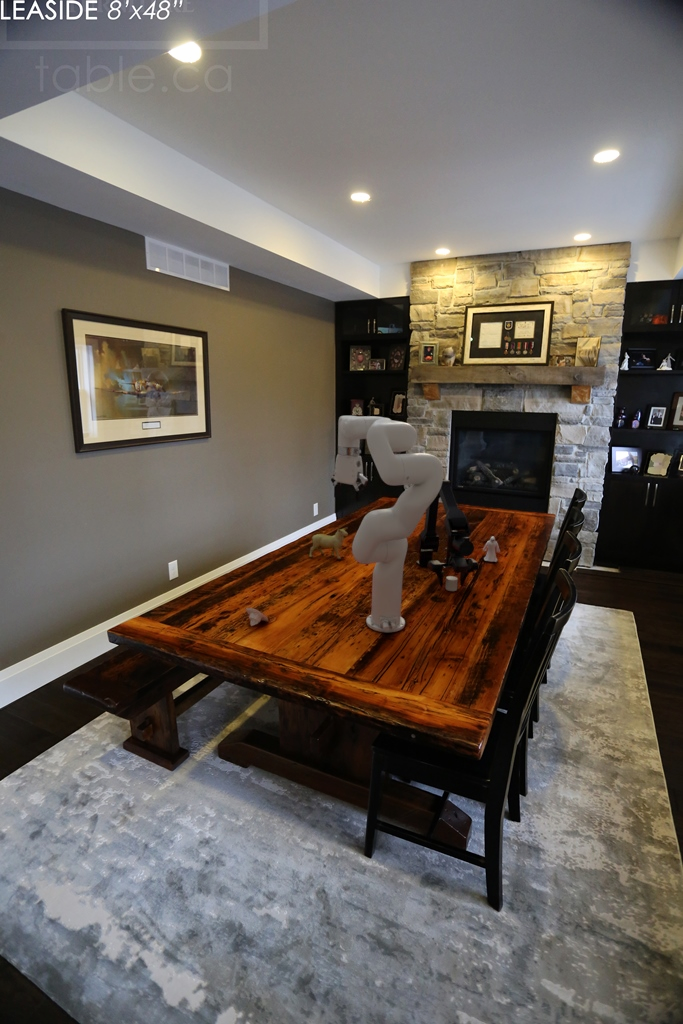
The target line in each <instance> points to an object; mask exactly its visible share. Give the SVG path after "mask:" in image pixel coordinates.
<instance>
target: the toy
mask: <svg viewBox="0 0 683 1024" xmlns="http://www.w3.org/2000/svg"><path fill="white" fill-rule="evenodd" d="M346 530H348V526H346V527H343V528H337V530H336V532H335V533H334V535H327V534H323V533H317V534H314V535H312V537H311V541H312V546H311V547H310V550H309V554H308V557H309V558H310V559H312V558H314V557H313V552H314V550H317V551H318V552H320V555H322V556H324V555H325V552H324V551H323V549H326V550H331V553H330V556H331V557H336V558H337V560H339V561H341V560H342V557H341V556H340V549H341V548H342V546H343V544H344V541H345V537H348V536H349V533H348V532H347V531H346ZM321 548H323V549H321ZM335 554H336V555H335Z"/></svg>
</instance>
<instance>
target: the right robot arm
mask: <svg viewBox="0 0 683 1024" xmlns="http://www.w3.org/2000/svg"><path fill="white" fill-rule="evenodd" d="M440 500H441V503H442V506H443V509H444V511H445V517H444V526H445V529H446V531H445V533H446V534H447V537H446V547H445V548H444V551H445V557H444V562H440V561H439V560H436V559H435V560H433V557H434V553H438V550H439V547H440V536H439V535H438V532H437V523H438V522H437V521H438V512H439V504H440ZM469 536H471V527H470V524H469V521H468V518H467V516H466V515H465V513H464V511H463V510H461V509H460V508H459V507H458V503H457V500H456V497H455V495H454V493H453V490H452V484H451V481H450V480H449V479H445V478H443V481H442V486H441V489H440V491H439V493H438V495H437V496H436V498H435V499H434V500H433V502H432V503H431V504H430V505H429V507H428V508H427V510H426V511H425V518H424V527H423V529H422V531H421V532H420V533H419V537H418V540H417V541H416V543H415V544H414V547H415V548H414V549H415V551H416V552H417V553H418V554H419V557H418V560H416V561H415V563H416V564H418V566H419V567H421V568H426V567H427V569H428V570H429V571H430V572H431V573H435V575H436V578H437V580H438V584H439V586H440V588H443V586H444V574H445V571H443V570H444V569H451V568H452V569H453V573H455V574H460V575H459V585H460V586H461V587H463V585H464V584H465V582H466V580H467V578H468V577H469V575H470V574H471V573H474V572H475V571H478V570H480V569H479V568H480V566H479V565H480V564H479V562H478V561H476V560H475V559H473V558H465V557H470V556H471V555H472V554H473V553H474V551H475V546H474V543H473V542H472V541H471V540H470V539H471V538H470V537H469Z"/></svg>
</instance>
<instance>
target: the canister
mask: <svg viewBox="0 0 683 1024" xmlns="http://www.w3.org/2000/svg"><path fill="white" fill-rule="evenodd" d="M445 578H446V579H445V590H446V591H448V592H455V591H458V581H459V578H458V577H457V576H453V575H448V576H446V577H445Z"/></svg>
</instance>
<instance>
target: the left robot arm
mask: <svg viewBox="0 0 683 1024" xmlns="http://www.w3.org/2000/svg"><path fill="white" fill-rule="evenodd" d="M337 425H338V426H337V428H338V430H337V432H338V433H337V455H336V457H335V465H334V470H333V471H330V472H329V474H328V475H329V477H330V482H331V483H332V486H333V498H340V497H342V484H345V485H352V486H353V487H354V494H353V496H354V497H353V501H354V502H355V503H357V502H361V501H362V498H363V497H362V495H363V494H362V493H363V490H364V489H365V488H366V486H367V484H368V481H369V479H368V478H367V477H366V476H365V475H364V466H363V465H364V464H363V459H362V456H361V455H360V454H362V450H361V449H360V441H361V440H366V444H367V448H368V451H369V453H370V455H371V458H372V460H373V462H374V465H375V467H376V469H377V472H378V474H379V477H380V479H381V480H382V481H383V482H384V483H385V484H386V485H388V486H405V485H407V486H408V485H410V486H408V488H406V489H405V490H404V491H403V492H402V493H401V494H400V495H399V497H398V498H397V500H396V502H395V504H394V505H393V506H391V507H388V508H381V509H374V510H371V511H369V512H368V513H367V514H365V516H364V517H363V519H362V521H361V523H360V525H359V527H358V529H357V531H356V534H355V536H354V538H353V540H352V544H351V553H352V556H353V558H354V560H355V561H356V562H357V563H359V564H361V565H371V564H375V565H374V568H373V571H372V585H371V586H372V587H371V607H370V609H371V613H370V615H368V616H367V617H366V621H365V622H366V623H365V624H366V625H367V627H368V628H369V629H372V630H373V631H376V632H379V633H396V632H398V631H402V630H403V629H404V628H405V626H406V620H405V618H403V617H402V615H401V614H402V599H403V598H402V597H403V580H404V567H405V560H406V557H407V554H408V546H409V544H408V538H409V537H411V535H412V534H413V533H414V531H415V530H416V529H417V526H418V525H419V523H420V521H421V519H422V518H423V517H424V515H425V514H426V510H427V508H428V507H429V505H430V504H431V503H432V502H433V500H434V499H435V498H436V496H437V495H438V493H439V491H440V489H441V486H442V481H443V479H444V467H443V464H442V462H441V460H440V458H438V456H436V455H433V454H431V453H426V452H425V453H424V452H416V453H415V452H414V453H402V452H407V451H410V450H411V449H413V448H414V446H415V445H416V444H417V442H418V431H417V430H416V429H415V427H414V426H413V425H411V424H410V423H407V422H404V421H399V420H392V419H391V418H389V417H385V416H384V417H383V416H375V415H374V416H373V415H372V416H370V415H367V416H364V415H362V416H357V415H341V416H339V417H338V423H337Z"/></svg>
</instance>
